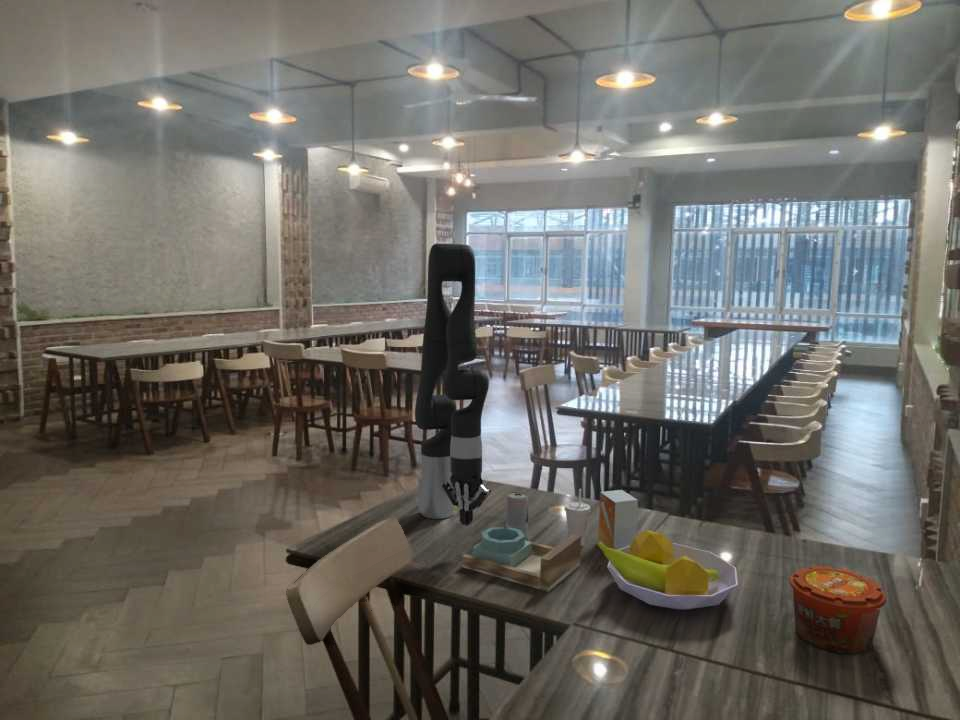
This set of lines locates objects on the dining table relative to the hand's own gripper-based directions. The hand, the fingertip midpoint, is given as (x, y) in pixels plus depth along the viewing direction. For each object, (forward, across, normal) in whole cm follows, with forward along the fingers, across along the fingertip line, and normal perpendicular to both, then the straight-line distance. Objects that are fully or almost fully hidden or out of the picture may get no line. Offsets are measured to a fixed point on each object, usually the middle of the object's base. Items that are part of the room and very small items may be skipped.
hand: (466, 524), depth 167 cm
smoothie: (+7, +20, +19) cm, 29 cm away
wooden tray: (+7, +15, 0) cm, 17 cm away
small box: (+7, +29, +23) cm, 38 cm away
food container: (+8, +79, +5) cm, 79 cm away
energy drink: (+7, +7, +12) cm, 16 cm away
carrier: (+6, +10, 0) cm, 12 cm away
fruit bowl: (+8, +47, +6) cm, 48 cm away
